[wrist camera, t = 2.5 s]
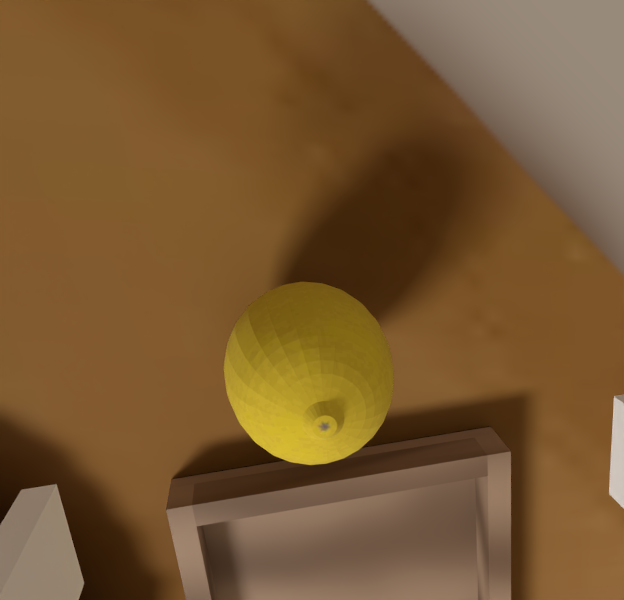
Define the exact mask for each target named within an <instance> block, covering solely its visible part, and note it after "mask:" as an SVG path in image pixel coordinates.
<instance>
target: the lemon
mask: <svg viewBox="0 0 624 600" xmlns="http://www.w3.org/2000/svg"><path fill="white" fill-rule="evenodd" d="M224 375H225V383H226V390H227V395H228V398H229V401H230V403H231V405H232V407H233V410H234V412H235V414H236V417H237V419H238V421H239V423H240V424H241V425H242V427H243V428H244V429H245V430H246V432H247V433H248V434H249V435H250V437H251V438H252V439H253V440H254V442H255V443H257V444H258V445H259V446H261V447H262V448H264V449H265V450H266V451H268V452H269V453H271V454H272V455H274V456H276V457H279V458H281V459H284V460H286V461H289V462H293V463H300V464H306V465H316V464H327V463H331V462H334V461H337V460H340V459H344V458H345V457H347V456H349V455H351V454H352V453H354V452H356V451H358V450H359V449H360V448H361V447H363V446H364V445H365V444H366V443H367V442H368V441H369V440H370V439H371V438H372V437H373V436H374V435H375V434H376V432H377V431H378V429H379V428H380V426H381V425H382V423H383V422H384V419H385V417H386V414H387V412H388V409H389V406H390V404H391V401H392V392H393V382H394V371H393V365H392V359H391V353H390V348H389V345H388V342H387V340H386V338H385V336H384V334H383V332H382V330H381V328H380V325H379V324H378V322H377V320H376V319H375V318H374V317H373V316H372V314H371V313H370V312H369V311H368V310H367V309H366V308H365V306H364V305H363V304H362V303H361V302H359V301H358V300H356V299H355V298H353V297H352V296H350V295H349V294H347V293H346V292H344V291H343V290H341V289H338V288H335V287H332V286H329V285H326V284H323V283H313V282H297V283H291V284H285V285H282V286H279V287H277V288H275V289H272V290H270V291H268V292H266V293H264V294H263V295H262V296H260V297H259V298H258V299H257V300H255V301H254V302H253V303H251V304H250V305H249V306H248V307H247V309H246V310H245V311H244V313H243V314H242V315H241V316H240V318H239V319H238V320H237V322H236V324H235V326H234V329H233V331H232V333H231V335H230V338H229V340H228V343H227V348H226V355H225V362H224Z"/></svg>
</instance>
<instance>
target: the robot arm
mask: <svg viewBox="0 0 624 600" xmlns="http://www.w3.org/2000/svg"><path fill="white" fill-rule="evenodd" d="M609 494H610V495H611V496H612V497H613V498H614V499H615V500H616V501H617V502H618V503H619V504H620V505H621V506H622V507H623V508H624V395H619V396H614V408H613V427H612V447H611V466H610V485H609ZM83 585H84V580H83V577H82V573H81V570H80V566H79V563H78V559H77V555H76V552H75V548H74V545H73V541H72V538H71V534H70V530H69V527H68V523H67V520H66V516H65V513H64V509H63V506H62V502H61V498H60V495H59V491H58V488H57V484H54V485H48V486H41V487H35V488H29V489H22V490H21V491H20V493H19V494H18V496H17V498H16V499H15V501H14V503H13V504H12V506H11V508H10V509H9V511H8V513H7V515H6V516H5V518H4V520H3V521H2V523H1V525H0V600H79V597H80V594H81V591H82V588H83Z"/></svg>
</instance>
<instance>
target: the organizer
mask: <svg viewBox="0 0 624 600" xmlns="http://www.w3.org/2000/svg"><path fill="white" fill-rule="evenodd" d="M166 511H167V516H168V520H169V525H170V529H171V534H172V538H173V543H174V547H175V552H176V556H177V561H178V565H179V570H180V574H181V579H182V583H183V588H184V592H185V597H186V600H511V451H510V450H509V448H508V447H507V446H506V445H505V443H504V442H503V441H502V440H501V439H500V437H499V436H498V435H497V434H496V432H495V431H494V430H493V429H492V427H486V428H480V429H474V430H468V431H462V432H456V433H450V434H444V435H438V436H431V437H425V438H419V439H413V440H407V441H401V442H395V443H389V444H383V445H377V446H371V447H365V448H360V449H359V450H358V451H356V452H354V453H352V454H351V455H349V456H347V457H345V458H344V459H340V460H337V461H334V462H331V463H327V464H316V465H306V464H300V463H293V462H289V461H280V462H274V463H268V464H262V465H256V466H250V467H244V468H238V469H231V470H225V471H219V472H213V473H207V474H201V475H195V476H189V477H183V478H177V479H171V485H170V491H169V496H168V502H167V508H166Z"/></svg>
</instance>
